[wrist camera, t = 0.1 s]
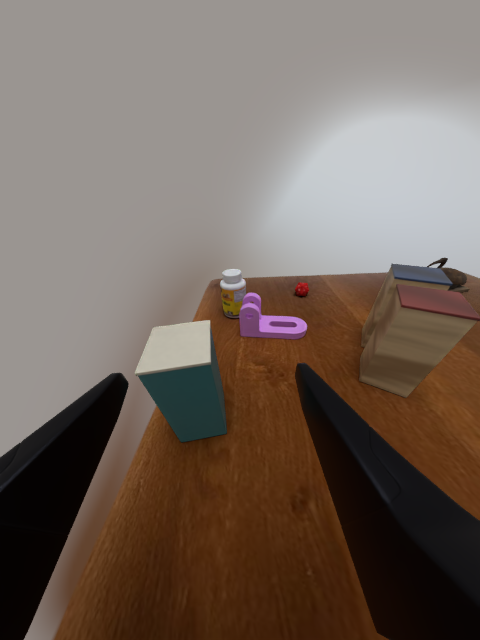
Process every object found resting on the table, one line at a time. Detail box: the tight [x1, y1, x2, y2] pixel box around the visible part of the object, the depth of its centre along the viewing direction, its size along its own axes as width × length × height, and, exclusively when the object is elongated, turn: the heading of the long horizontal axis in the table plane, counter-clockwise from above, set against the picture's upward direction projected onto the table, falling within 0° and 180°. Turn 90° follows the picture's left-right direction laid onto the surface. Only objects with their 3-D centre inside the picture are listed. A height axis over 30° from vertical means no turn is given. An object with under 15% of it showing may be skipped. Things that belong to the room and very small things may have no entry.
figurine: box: [427, 258, 469, 293], centre depth 43 cm, size 14×4×9 cm, turn 98°
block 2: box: [359, 284, 480, 398], centre depth 23 cm, size 6×6×13 cm
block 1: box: [361, 264, 453, 348], centre depth 28 cm, size 6×6×13 cm
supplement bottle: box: [220, 269, 246, 318], centre depth 39 cm, size 6×6×10 cm
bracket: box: [239, 293, 307, 339], centre depth 35 cm, size 13×6×7 cm, turn 81°
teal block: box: [135, 320, 227, 442], centre depth 19 cm, size 6×6×13 cm
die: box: [295, 283, 309, 296], centre depth 47 cm, size 4×4×4 cm
